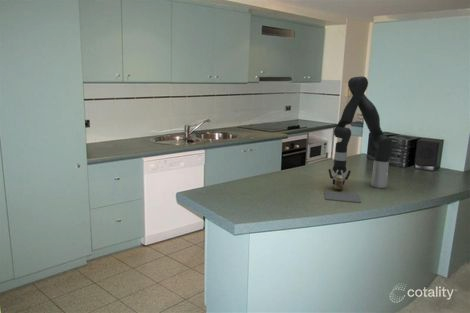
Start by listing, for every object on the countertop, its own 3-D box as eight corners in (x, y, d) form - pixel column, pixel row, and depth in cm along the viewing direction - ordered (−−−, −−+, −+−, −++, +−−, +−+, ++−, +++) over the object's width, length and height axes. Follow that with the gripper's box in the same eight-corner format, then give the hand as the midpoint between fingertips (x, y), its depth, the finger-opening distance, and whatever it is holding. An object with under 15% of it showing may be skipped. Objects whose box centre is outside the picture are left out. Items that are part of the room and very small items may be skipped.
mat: (358, 195, 243) (358, 194, 243) (361, 203, 229) (361, 202, 229) (324, 192, 247) (324, 191, 247) (325, 199, 233) (325, 198, 233)
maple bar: (341, 184, 261) (341, 176, 260) (342, 189, 249) (343, 181, 248) (334, 183, 261) (334, 176, 260) (335, 188, 250) (335, 181, 249)
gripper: (351, 158, 254) (349, 184, 257) (328, 156, 256) (326, 182, 260) (352, 160, 247) (350, 187, 250) (328, 159, 249) (326, 186, 253)
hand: (338, 185), depth 255 cm, fingers closed on maple bar, 4 cm apart
